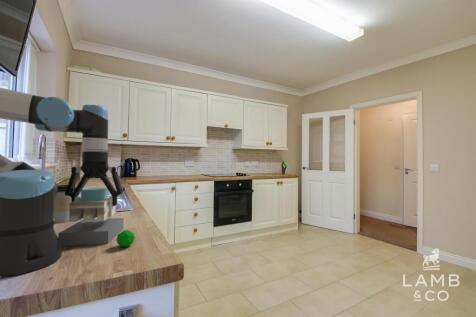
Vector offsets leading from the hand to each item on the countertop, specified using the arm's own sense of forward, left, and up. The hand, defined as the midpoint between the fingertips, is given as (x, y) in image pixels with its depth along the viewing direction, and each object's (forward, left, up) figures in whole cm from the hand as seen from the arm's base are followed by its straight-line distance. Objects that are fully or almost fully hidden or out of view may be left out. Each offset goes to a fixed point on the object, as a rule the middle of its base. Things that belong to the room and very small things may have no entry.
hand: (94, 215), depth 80 cm
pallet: (0, 0, 0) cm, 0 cm away
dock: (0, 0, -7) cm, 7 cm away
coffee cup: (+23, +21, -7) cm, 32 cm away
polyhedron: (-11, -13, -7) cm, 19 cm away
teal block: (0, 0, +6) cm, 6 cm away
